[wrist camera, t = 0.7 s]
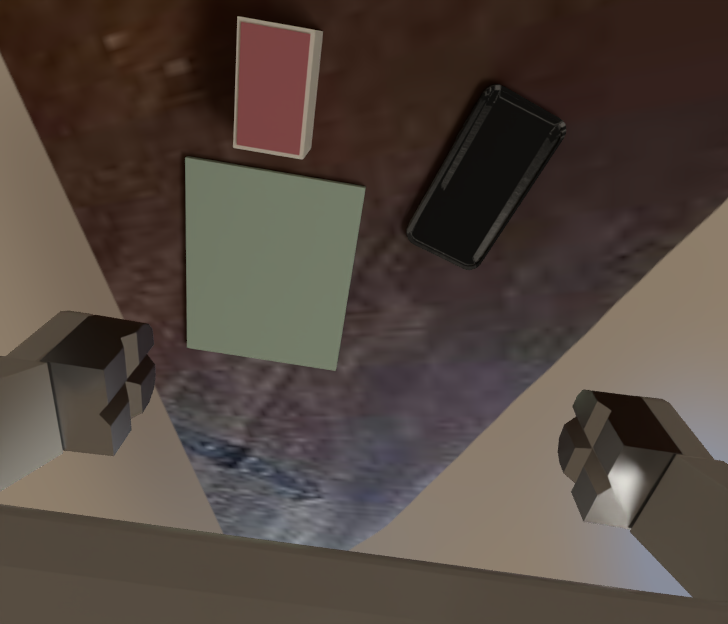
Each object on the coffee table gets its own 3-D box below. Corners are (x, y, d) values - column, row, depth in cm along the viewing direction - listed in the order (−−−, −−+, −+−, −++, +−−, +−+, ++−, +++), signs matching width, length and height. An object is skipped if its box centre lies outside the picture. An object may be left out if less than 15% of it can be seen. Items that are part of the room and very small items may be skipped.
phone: (572, 125, 42) (474, 273, 48) (567, 123, 42) (472, 269, 49) (490, 78, 40) (401, 238, 47) (488, 77, 41) (400, 234, 48)
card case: (254, 18, 40) (236, 16, 35) (323, 31, 40) (315, 29, 35) (248, 137, 44) (232, 148, 39) (311, 147, 44) (302, 159, 40)
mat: (187, 156, 45) (185, 157, 44) (365, 186, 45) (365, 188, 45) (189, 344, 54) (187, 347, 54) (336, 367, 55) (335, 370, 54)
